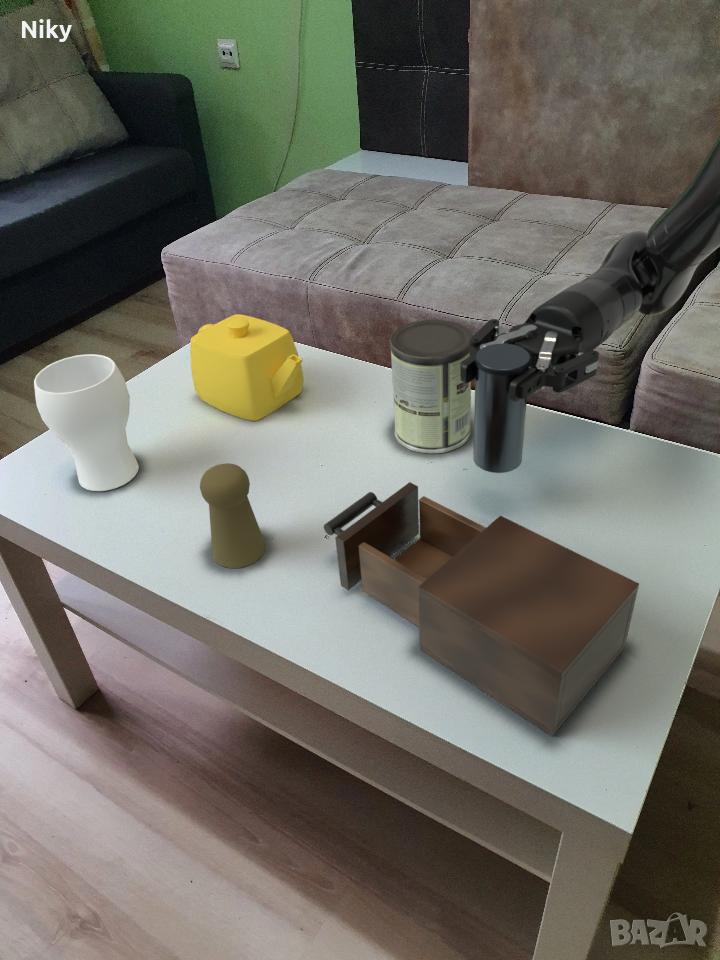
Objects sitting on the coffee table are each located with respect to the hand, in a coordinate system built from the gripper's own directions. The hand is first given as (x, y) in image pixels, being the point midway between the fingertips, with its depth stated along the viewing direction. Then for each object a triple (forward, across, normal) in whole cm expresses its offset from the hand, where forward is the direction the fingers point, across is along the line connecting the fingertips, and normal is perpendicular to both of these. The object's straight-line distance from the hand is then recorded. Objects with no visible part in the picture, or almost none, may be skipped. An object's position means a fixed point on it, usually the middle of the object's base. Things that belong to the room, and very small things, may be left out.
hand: (487, 383), depth 77 cm
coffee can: (-10, -15, +18) cm, 25 cm away
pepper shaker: (+22, -18, +18) cm, 33 cm away
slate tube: (-3, 0, +11) cm, 11 cm away
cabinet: (+14, +14, +18) cm, 26 cm away
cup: (+24, -43, +18) cm, 52 cm away
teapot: (-1, -42, +18) cm, 46 cm away
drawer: (+14, +1, +17) cm, 22 cm away
